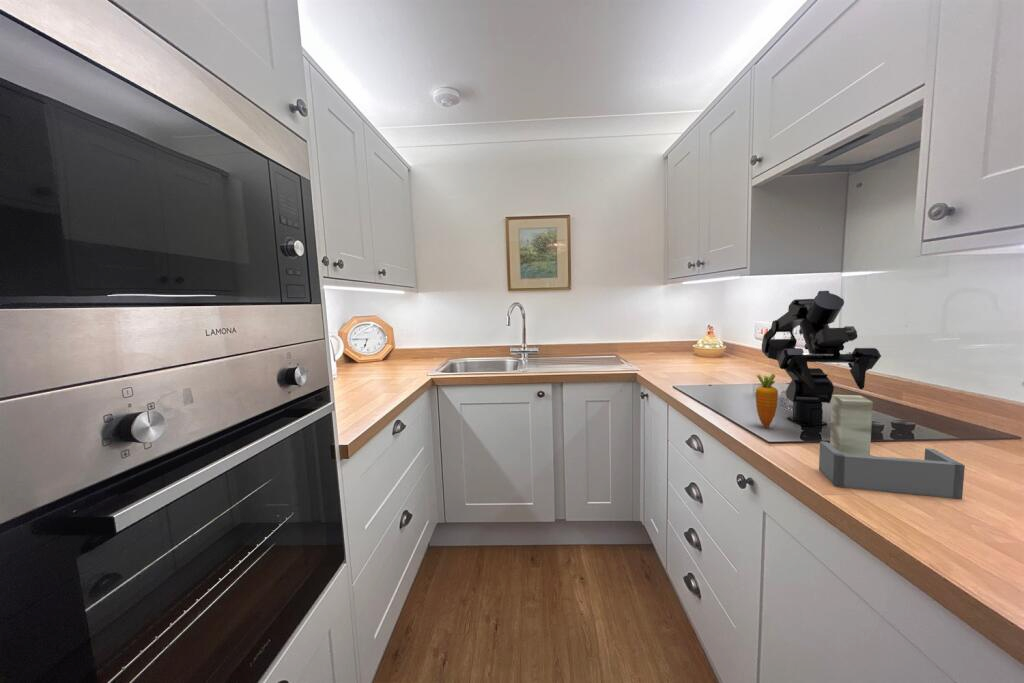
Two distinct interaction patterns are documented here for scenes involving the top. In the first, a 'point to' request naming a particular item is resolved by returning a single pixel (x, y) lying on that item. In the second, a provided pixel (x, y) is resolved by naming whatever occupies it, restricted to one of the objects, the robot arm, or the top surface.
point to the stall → (894, 472)
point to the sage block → (851, 424)
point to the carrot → (766, 400)
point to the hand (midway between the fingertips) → (837, 387)
